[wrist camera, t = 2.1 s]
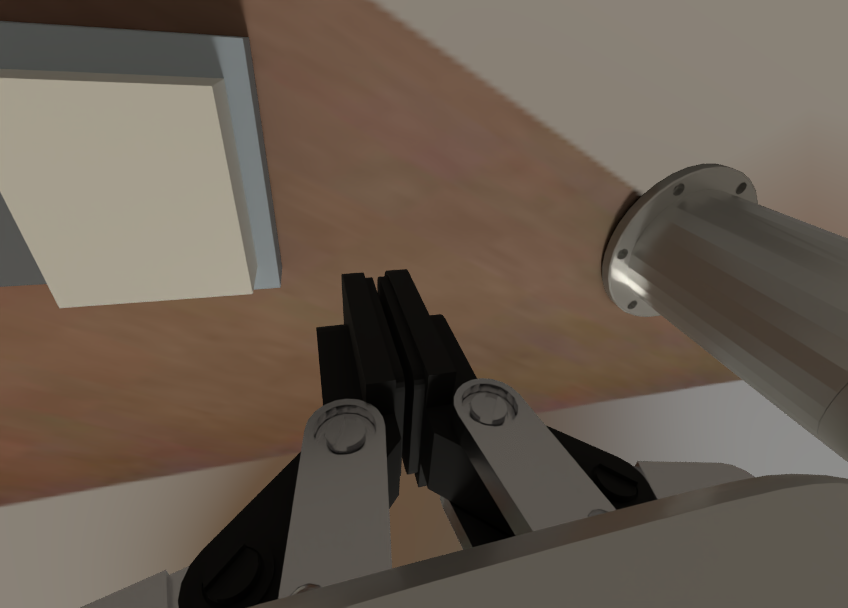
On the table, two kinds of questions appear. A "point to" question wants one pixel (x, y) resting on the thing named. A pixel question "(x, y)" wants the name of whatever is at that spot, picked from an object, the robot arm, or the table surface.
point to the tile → (125, 185)
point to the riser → (167, 58)
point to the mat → (15, 253)
